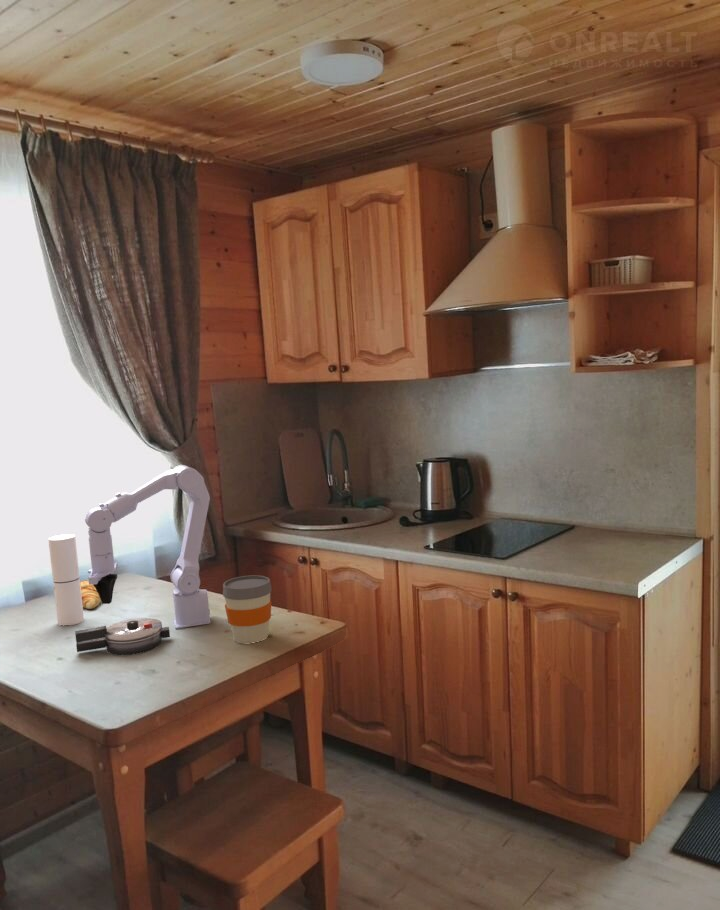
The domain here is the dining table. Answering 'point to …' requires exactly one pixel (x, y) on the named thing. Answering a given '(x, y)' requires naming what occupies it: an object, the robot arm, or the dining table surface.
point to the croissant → (89, 595)
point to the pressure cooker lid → (122, 630)
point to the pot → (125, 644)
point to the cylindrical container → (66, 579)
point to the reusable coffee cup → (248, 607)
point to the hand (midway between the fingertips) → (106, 603)
